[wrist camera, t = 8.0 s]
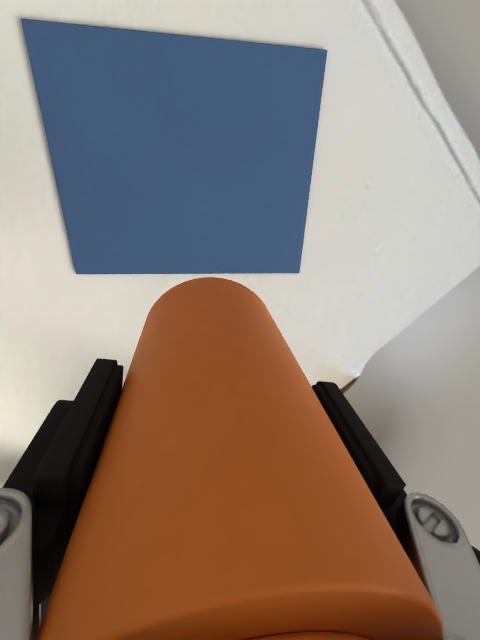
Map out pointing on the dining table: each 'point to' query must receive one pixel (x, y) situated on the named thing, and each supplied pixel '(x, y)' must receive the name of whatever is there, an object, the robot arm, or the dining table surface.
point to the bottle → (229, 499)
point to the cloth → (178, 147)
